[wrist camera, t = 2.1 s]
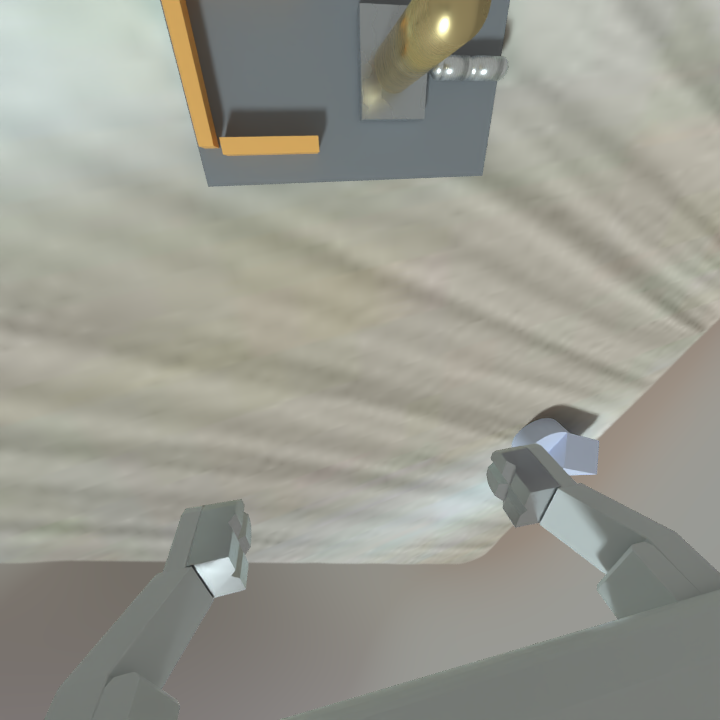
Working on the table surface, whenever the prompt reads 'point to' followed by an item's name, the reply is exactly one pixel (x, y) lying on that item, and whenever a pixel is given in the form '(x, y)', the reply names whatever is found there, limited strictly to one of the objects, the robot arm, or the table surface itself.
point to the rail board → (315, 96)
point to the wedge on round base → (561, 446)
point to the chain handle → (417, 54)
